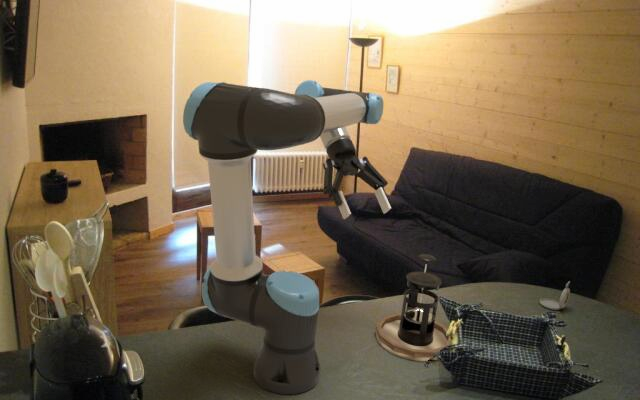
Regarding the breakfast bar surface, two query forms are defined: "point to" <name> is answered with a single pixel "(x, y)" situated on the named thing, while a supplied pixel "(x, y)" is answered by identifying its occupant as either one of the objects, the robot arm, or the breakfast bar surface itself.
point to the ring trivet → (396, 346)
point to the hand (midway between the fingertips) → (368, 213)
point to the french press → (419, 307)
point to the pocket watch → (554, 304)
